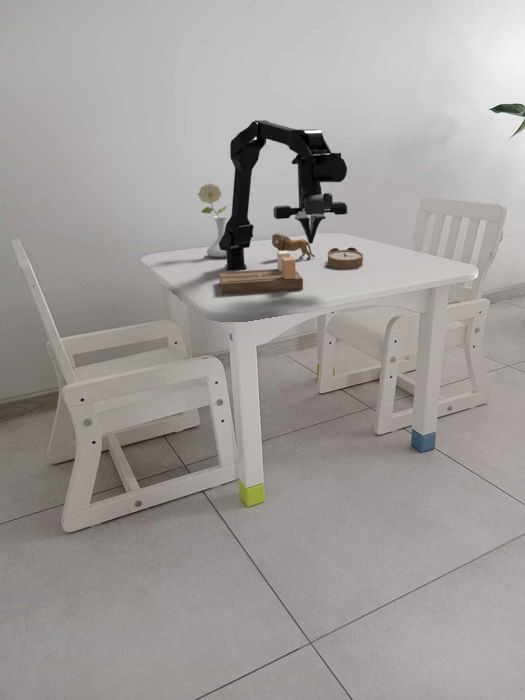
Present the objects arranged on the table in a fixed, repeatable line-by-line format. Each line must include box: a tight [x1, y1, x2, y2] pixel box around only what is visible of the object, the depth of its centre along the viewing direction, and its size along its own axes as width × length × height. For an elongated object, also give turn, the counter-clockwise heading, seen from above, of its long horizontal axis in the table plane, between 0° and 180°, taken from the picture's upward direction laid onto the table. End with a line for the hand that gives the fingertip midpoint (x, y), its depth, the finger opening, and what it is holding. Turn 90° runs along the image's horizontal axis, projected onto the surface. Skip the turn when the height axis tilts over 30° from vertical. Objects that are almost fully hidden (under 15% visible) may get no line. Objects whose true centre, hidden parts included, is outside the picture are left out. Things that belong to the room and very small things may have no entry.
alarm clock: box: [327, 247, 364, 270], centre depth 164 cm, size 11×5×15 cm
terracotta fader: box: [282, 256, 296, 279], centre depth 137 cm, size 4×3×5 cm
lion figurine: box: [271, 232, 316, 261], centre depth 172 cm, size 15×5×9 cm, turn 92°
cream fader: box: [276, 250, 291, 271], centre depth 145 cm, size 4×3×5 cm
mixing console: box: [218, 268, 304, 296], centre depth 142 cm, size 13×22×3 cm, turn 97°
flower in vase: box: [197, 183, 228, 258], centre depth 177 cm, size 13×11×25 cm
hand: (310, 243), depth 136 cm, fingers closed
